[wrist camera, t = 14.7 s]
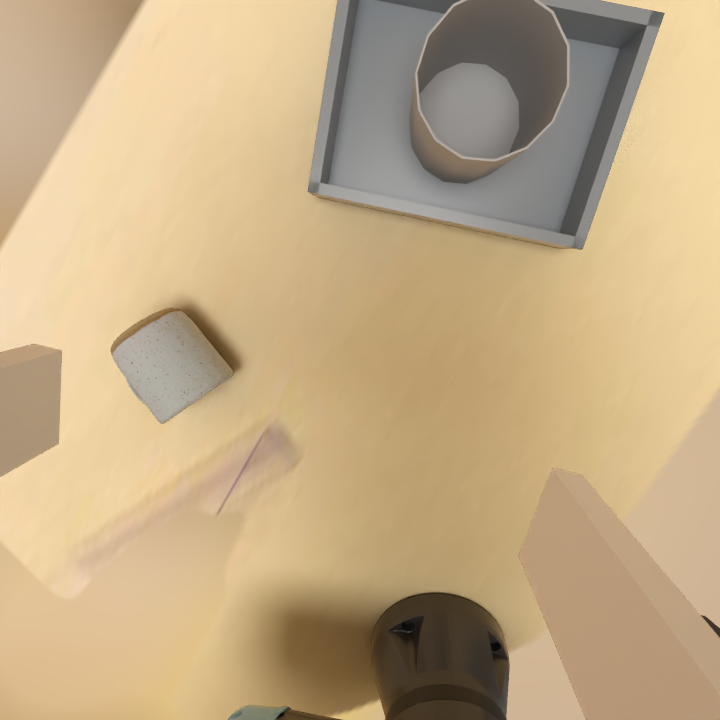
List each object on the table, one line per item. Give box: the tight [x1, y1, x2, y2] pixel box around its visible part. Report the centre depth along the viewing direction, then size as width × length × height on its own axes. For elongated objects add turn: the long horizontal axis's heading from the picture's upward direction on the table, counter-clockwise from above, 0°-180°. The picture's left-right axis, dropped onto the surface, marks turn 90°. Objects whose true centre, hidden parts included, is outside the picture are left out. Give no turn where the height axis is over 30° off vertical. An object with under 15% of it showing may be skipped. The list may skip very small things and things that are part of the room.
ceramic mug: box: [111, 308, 234, 424], centre depth 38 cm, size 11×8×8 cm
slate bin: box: [308, 0, 664, 250], centre depth 31 cm, size 15×21×4 cm
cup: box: [409, 0, 570, 184], centre depth 28 cm, size 8×8×10 cm
